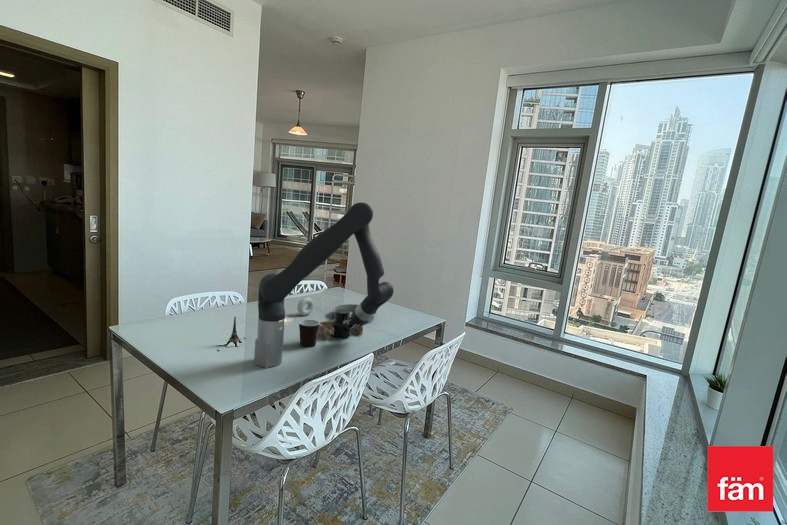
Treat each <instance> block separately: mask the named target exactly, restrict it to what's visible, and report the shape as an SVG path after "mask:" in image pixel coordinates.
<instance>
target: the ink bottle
mask: <svg viewBox="0 0 787 525" xmlns="http://www.w3.org/2000/svg"><path fill="white" fill-rule="evenodd" d="M350 313H351V312H350V311H348V310H344V309H338V310H336V311H335V314H334V319H333V320H332V321H333V322H332V327H331V331H330V336H331V338H333V339H338V340H346V339H348V338H350V336H351V332H347V331H346V328H345V326H344V324H343V320H348V319H349V316H350V315H351V314H350ZM348 324H349V323H348Z"/></svg>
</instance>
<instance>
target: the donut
mask: <svg viewBox="0 0 787 525" xmlns="http://www.w3.org/2000/svg"><path fill="white" fill-rule="evenodd" d="M305 305H307V306H306V308H305ZM296 307H297V308H296V310H297V313H298V314H299V315H300V316H303V317H304V316H308V315H310V314H311V313H312V312H313V311H314V307H315V301H314V300H313V299H312V298H311V297H302V298H301V299H300V300H299V301H298V304H297V306H296Z"/></svg>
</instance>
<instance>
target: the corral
mask: <svg viewBox="0 0 787 525" xmlns="http://www.w3.org/2000/svg"><path fill="white" fill-rule="evenodd" d="M333 321H334V320H326V321H319V322H320V324H319V329H318V333H319V334H318V335H319V336H321V338H323V337H324V338H325V339H324V338H323V339H324V340H325V341H329V340H330V336H331V331H330V330H331V327H332V322H333ZM353 331H354V333H355V332H356V333H357V334H356V333H355V334H356V335H357V336H359V335H360V336H359V337H362V336H363V331H364V325H363V326H361V327H359V328H357V327H356V328H355V329H353ZM353 331H352V332H353ZM361 335H362V336H361Z"/></svg>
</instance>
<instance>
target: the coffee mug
mask: <svg viewBox="0 0 787 525" xmlns="http://www.w3.org/2000/svg"><path fill="white" fill-rule="evenodd" d="M320 322H321V321H319V320H316V319H311V318H310V319H309V318H307V319H302V320H301V319H300V320H299V322H298V326H299V327H298V330H299V331H298V332H299V345H300V347H301V346H302V348H306V349H311V348H314V347H315V346H316V344H317V338H318V335H319V334H318V329H319V324H320Z"/></svg>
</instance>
